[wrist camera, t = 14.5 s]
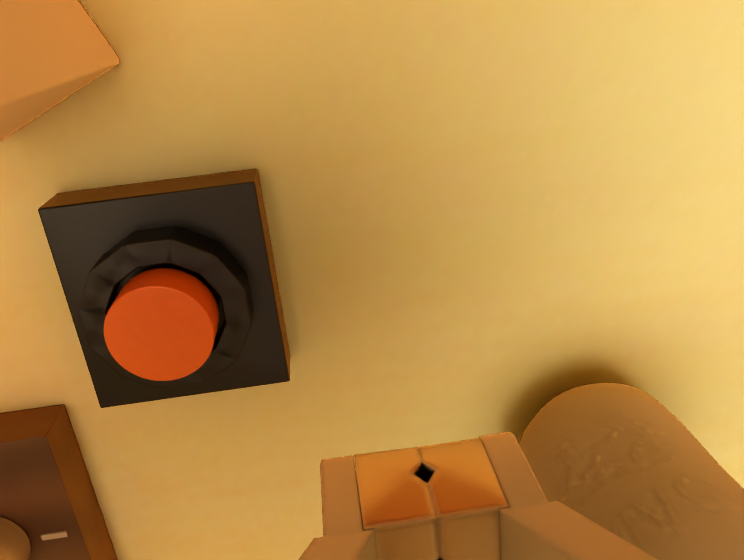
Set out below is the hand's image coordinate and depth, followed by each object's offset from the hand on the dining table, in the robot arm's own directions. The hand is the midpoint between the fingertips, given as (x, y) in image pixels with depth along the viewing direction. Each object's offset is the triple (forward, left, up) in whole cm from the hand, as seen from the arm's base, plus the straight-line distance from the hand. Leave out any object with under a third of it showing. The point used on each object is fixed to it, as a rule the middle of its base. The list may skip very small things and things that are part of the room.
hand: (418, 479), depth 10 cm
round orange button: (-6, +9, -21) cm, 24 cm away
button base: (-6, +9, -25) cm, 27 cm away
